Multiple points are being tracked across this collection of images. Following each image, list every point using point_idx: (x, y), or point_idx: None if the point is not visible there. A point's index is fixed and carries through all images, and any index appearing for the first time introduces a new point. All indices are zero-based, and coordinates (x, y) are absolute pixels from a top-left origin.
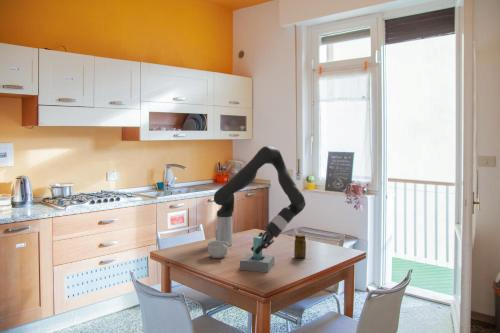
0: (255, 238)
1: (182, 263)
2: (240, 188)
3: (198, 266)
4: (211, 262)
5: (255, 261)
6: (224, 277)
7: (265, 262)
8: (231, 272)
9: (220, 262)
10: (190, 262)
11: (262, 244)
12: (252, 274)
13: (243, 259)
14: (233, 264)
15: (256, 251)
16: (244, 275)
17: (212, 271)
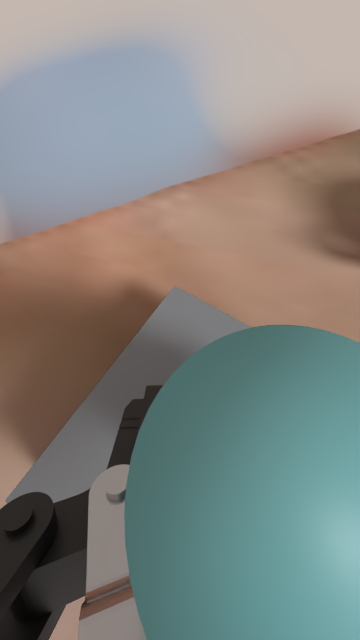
0: (192, 356)
1: (329, 138)
2: None
3: (278, 173)
4: (342, 223)
5: (109, 389)
6: (86, 226)
7: (35, 475)
8: (146, 266)
9: (341, 259)
10: (344, 159)
11: (20, 517)
12: (63, 357)
13: (197, 315)
14: (294, 311)
15: (131, 401)
16: (69, 310)
17: (190, 203)
